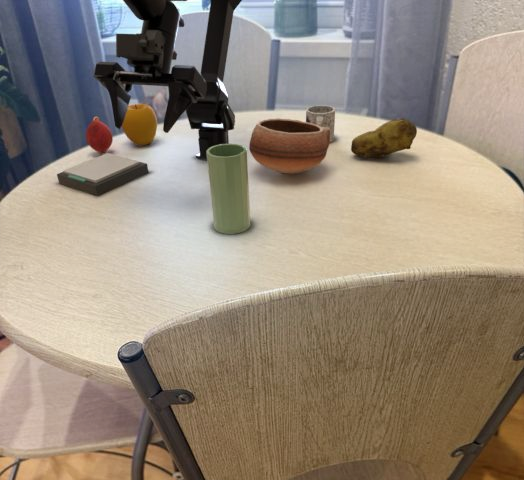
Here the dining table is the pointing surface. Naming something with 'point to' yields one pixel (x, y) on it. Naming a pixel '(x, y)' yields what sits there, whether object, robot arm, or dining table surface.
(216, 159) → the tumbler
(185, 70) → the robot arm
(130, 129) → the apple
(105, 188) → the scale
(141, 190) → the dining table surface
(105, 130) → the onion
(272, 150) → the bowl
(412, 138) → the potato
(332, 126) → the mug
